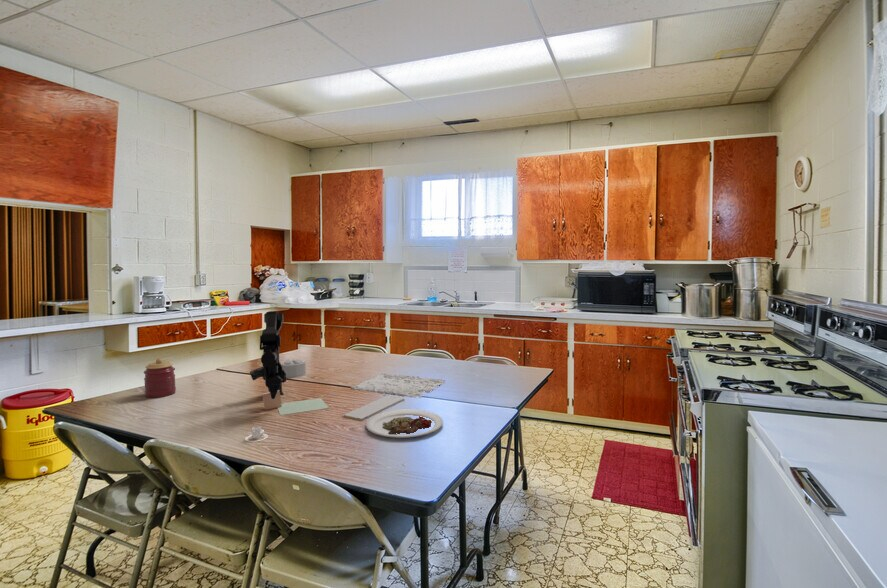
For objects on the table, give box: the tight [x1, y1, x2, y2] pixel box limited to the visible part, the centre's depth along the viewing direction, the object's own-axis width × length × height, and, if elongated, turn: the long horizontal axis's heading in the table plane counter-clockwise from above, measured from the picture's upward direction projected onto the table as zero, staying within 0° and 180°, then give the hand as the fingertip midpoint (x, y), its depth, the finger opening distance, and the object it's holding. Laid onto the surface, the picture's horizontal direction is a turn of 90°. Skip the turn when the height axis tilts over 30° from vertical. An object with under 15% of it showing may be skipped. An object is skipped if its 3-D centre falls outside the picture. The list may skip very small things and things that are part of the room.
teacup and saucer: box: [244, 426, 269, 443], centre depth 168 cm, size 9×8×4 cm
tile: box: [262, 390, 282, 410], centre depth 201 cm, size 2×7×7 cm, turn 117°
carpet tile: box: [350, 373, 446, 398], centre depth 237 cm, size 39×30×2 cm
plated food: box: [365, 408, 444, 439], centre depth 179 cm, size 30×30×3 cm
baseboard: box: [341, 393, 405, 422], centre depth 202 cm, size 31×3×12 cm
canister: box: [143, 358, 177, 399], centre depth 223 cm, size 13×13×18 cm
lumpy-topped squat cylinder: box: [281, 358, 307, 379], centre depth 258 cm, size 10×13×9 cm
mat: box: [276, 397, 329, 416], centre depth 203 cm, size 16×20×1 cm
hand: (271, 396), depth 201 cm, fingers open, 9 cm apart
